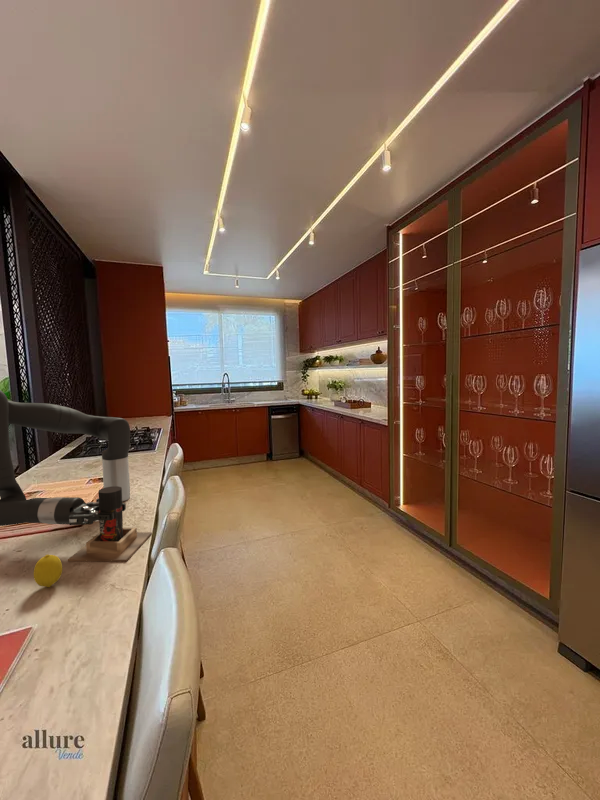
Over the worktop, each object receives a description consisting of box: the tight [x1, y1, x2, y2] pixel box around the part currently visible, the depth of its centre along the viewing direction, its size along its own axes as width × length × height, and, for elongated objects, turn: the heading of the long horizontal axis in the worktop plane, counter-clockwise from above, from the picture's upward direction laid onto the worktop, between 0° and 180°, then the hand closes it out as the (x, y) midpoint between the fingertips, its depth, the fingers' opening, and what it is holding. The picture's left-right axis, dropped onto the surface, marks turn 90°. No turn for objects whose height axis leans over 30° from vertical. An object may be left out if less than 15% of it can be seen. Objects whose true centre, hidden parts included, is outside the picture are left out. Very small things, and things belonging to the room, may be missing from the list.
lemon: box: [33, 553, 63, 588], centre depth 82 cm, size 6×6×8 cm
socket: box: [67, 527, 153, 563], centre depth 102 cm, size 16×16×4 cm
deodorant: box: [98, 486, 124, 541], centre depth 101 cm, size 6×6×15 cm
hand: (119, 511), depth 101 cm, fingers closed on deodorant, 6 cm apart
